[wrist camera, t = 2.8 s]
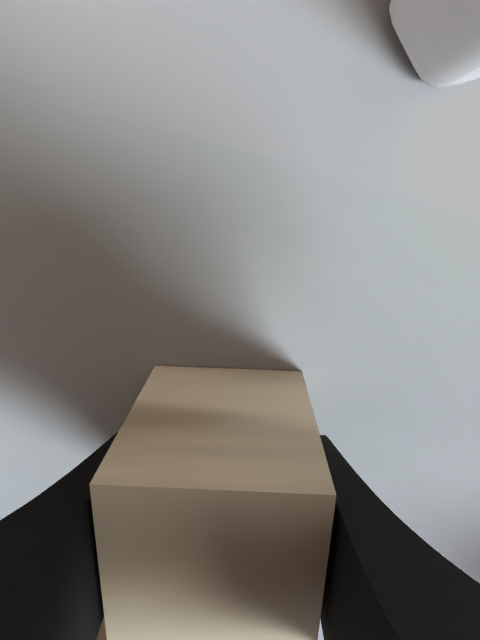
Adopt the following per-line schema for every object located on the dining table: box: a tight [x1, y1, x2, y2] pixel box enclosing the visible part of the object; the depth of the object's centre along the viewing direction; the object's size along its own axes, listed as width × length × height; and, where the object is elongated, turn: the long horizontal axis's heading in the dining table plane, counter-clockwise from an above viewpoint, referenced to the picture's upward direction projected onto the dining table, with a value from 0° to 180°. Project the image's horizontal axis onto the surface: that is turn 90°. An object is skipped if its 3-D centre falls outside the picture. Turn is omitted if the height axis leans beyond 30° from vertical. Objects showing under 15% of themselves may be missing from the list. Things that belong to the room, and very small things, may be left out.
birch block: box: [89, 366, 336, 640], centre depth 10 cm, size 4×4×5 cm
